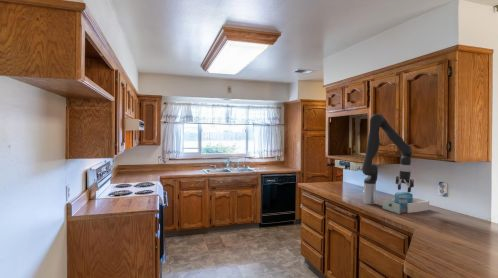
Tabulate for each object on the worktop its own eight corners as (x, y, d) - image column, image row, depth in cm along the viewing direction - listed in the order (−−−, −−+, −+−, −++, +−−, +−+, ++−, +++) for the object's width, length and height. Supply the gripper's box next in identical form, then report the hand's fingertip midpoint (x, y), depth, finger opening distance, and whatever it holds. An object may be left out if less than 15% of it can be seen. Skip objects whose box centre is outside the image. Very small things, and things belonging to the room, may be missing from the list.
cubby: (391, 207, 232) (392, 199, 231) (411, 205, 240) (412, 196, 239) (408, 212, 218) (408, 203, 217) (428, 210, 226) (429, 201, 226)
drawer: (381, 208, 228) (381, 199, 227) (403, 206, 236) (403, 197, 236) (397, 214, 214) (397, 204, 214) (420, 211, 222) (420, 201, 222)
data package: (397, 209, 224) (398, 193, 223) (394, 207, 228) (394, 192, 228) (412, 208, 225) (412, 193, 224) (408, 207, 229) (409, 192, 229)
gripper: (393, 169, 230) (392, 189, 231) (409, 172, 217) (408, 193, 218) (400, 168, 233) (399, 188, 234) (416, 171, 220) (415, 192, 221)
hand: (404, 191), depth 226 cm, fingers open, 8 cm apart
